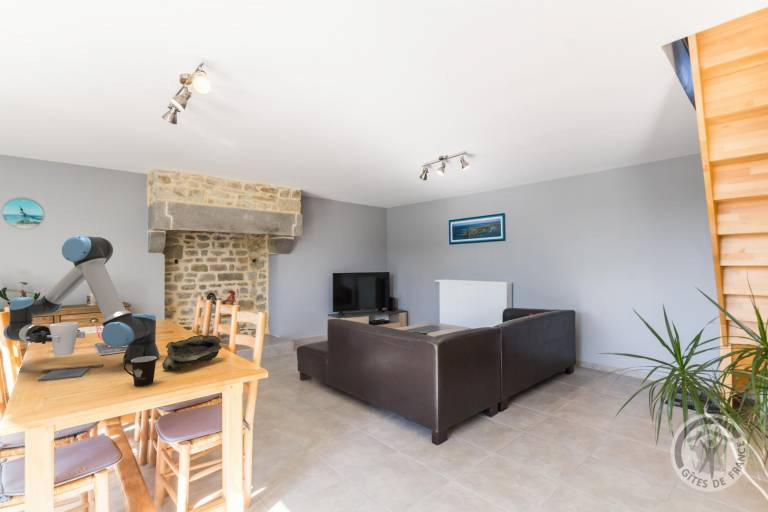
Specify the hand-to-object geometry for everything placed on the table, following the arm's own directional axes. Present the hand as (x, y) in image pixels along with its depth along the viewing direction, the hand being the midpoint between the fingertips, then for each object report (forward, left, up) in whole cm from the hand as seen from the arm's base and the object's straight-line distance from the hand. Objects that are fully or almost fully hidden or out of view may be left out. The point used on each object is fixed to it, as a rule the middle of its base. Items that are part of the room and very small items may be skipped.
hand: (71, 337), depth 157 cm
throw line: (+6, -10, -17) cm, 20 cm away
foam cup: (+4, -2, -8) cm, 9 cm away
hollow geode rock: (-45, -14, -17) cm, 50 cm away
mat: (+4, -2, -17) cm, 17 cm away
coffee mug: (-35, +11, -17) cm, 41 cm away
